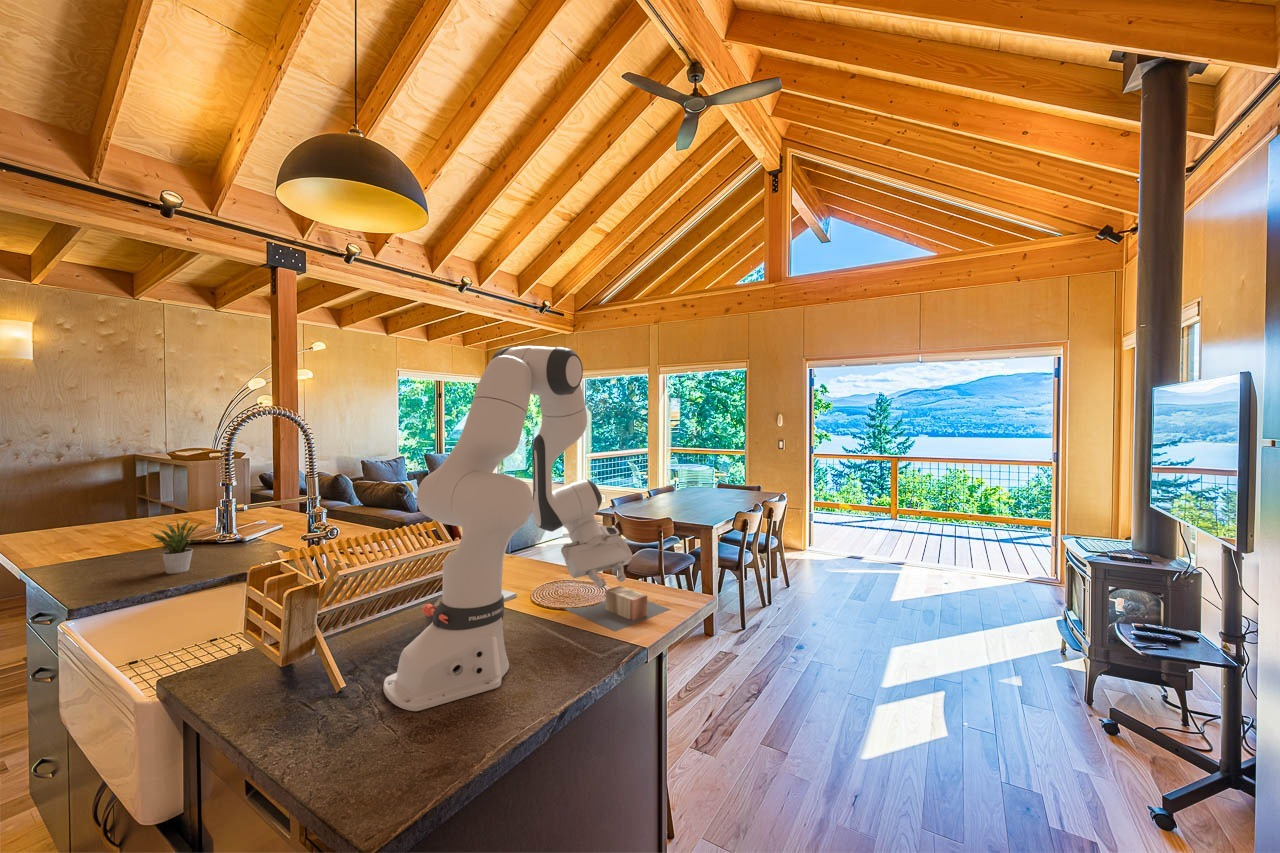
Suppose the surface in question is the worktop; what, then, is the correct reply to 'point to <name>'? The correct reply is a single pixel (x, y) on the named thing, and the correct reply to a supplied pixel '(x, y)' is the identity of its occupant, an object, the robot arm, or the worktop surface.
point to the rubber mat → (614, 615)
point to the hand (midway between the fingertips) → (613, 583)
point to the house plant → (177, 548)
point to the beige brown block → (626, 602)
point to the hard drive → (508, 595)
